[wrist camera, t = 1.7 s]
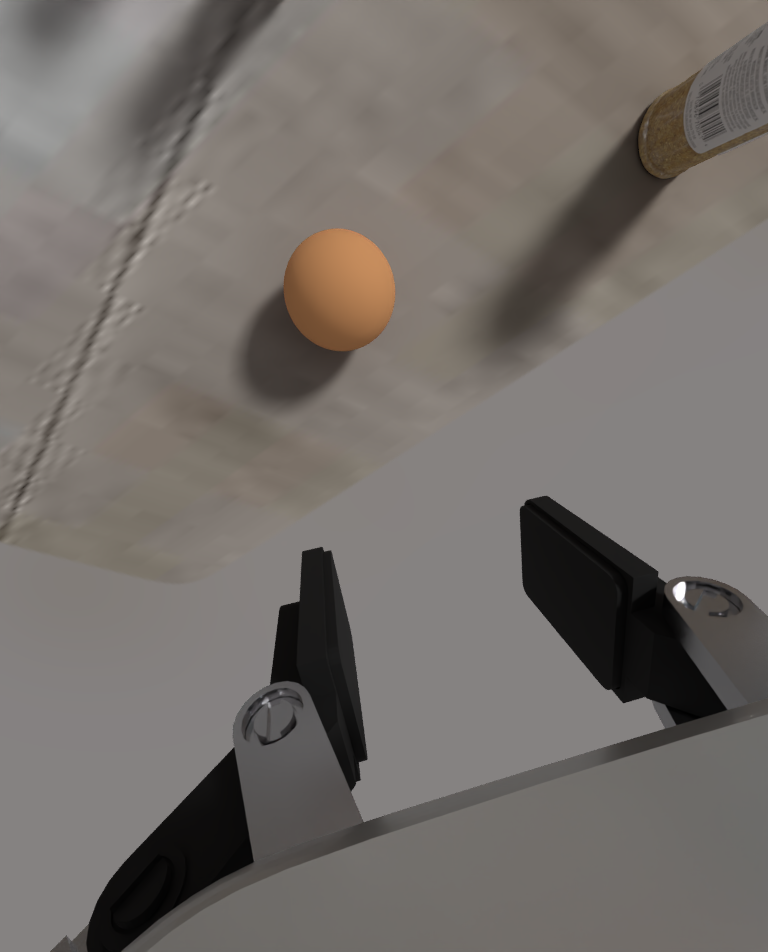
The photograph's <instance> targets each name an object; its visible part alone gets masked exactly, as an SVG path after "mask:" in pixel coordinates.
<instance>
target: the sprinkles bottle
mask: <svg viewBox="0 0 768 952" xmlns="http://www.w3.org/2000/svg"><path fill="white" fill-rule="evenodd" d="M766 134H768V22H766V23H765V24H763V25H762V26H761V27H759V28H758V29H756V30H755V31H753V32H752V33H750V34H749V35H748V36H746V37H745V38H743V39H742V40H740V41H739V42H738V43H736V44H735V45H733V46H732V47H730V48H729V49H727V50H726V51H725V52H723V53H722V54H720V55H719V56H717V57H716V58H715V59H713V60H712V61H710V62H709V63H708V64H707V65H706V66H705V67H704V68H703V69H701V70H700V71H698V72H697V73H695V74H694V75H692V76H691V77H689V78H688V79H687V80H686V81H684V82H682V83H681V84H680V85H678V86H676V87H674V88H671V89H669V90H667V91H665V92H664V93H663V94H661V95H660V96H659V97H658V98H656V99H655V100H654V102H653V103H652V104H651V106H650V107H649V109H648V111H647V113H646V114H645V116H644V118H643V121H642V124H641V127H640V131H639V138H638V146H639V153H640V158H641V160H642V163H643V165H644V167H645V168H646V170H647V171H648V172H649V173H651V174H652V175H654V176H656V177H658V178H661V179H666V178H671V177H675V176H677V175H679V174H681V173H682V172H684V171H686V170H687V169H688V168H690V167H692V166H695V165H697V164H699V163H701V162H703V161H705V160H707V159H710V158H712V157H714V156H716V155H721V154H724V153H726V152H729V151H731V150H733V149H735V148H737V147H740V146H742V145H744V144H747V143H749V142H751V141H753V140H755V139H758V138H760V137H762V136H764V135H766Z"/></svg>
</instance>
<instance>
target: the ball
mask: <svg viewBox="0 0 768 952" xmlns="http://www.w3.org/2000/svg"><path fill="white" fill-rule="evenodd" d="M284 297H285V303H286V306H287V310H288V312H289V315H290V317H291V319H292V321H293V322H294V324H295V325H296V327H297V328H298V329H299V331H300V332H301V333H302V334H303V335H304V336H305V337H306V338H308V339H309V340H310V341H311V342H313V343H315V344H316V345H318V346H321V347H323V348H326V349H329V350H334V351H351V350H355V349H358V348H361V347H363V346H365V345H367V344H369V343H370V342H372V341H373V340H374V339H376V338H377V337H378V336H379V335H380V334H381V332H382V331H383V330H384V328H385V327H386V325H387V323H388V322H389V319H390V317H391V315H392V311H393V308H394V302H395V283H394V278H393V274H392V271H391V268H390V266H389V264H388V261H387V260H386V258H385V256H384V255H383V253H382V252H381V251H380V250H379V248H378V247H377V246H376V245H375V244H374V243H373V242H371V241H370V240H369V239H367V238H366V237H364V236H363V235H361V234H359V233H356V232H354V231H350V230H346V229H328V230H324V231H320V232H318V233H315V234H313V235H312V236H310V237H308V238H307V239H306V240H304V241H303V242H302V243H301V244H300V245H299V246H298V247H297V248H296V250H295V251H294V253H293V254H292V256H291V258H290V260H289V262H288V265H287V268H286V271H285V276H284Z"/></svg>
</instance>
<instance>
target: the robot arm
mask: <svg viewBox="0 0 768 952" xmlns="http://www.w3.org/2000/svg"><path fill="white" fill-rule="evenodd" d="M520 529H521V552H522V579H523V587H524V590H525V592H526V594H527V596H528V597H529V598H530V599H531V601H532V602H533V603H534V604H535V605H536V607H537V608H538V609H539V610H540V611H541V613H542V614H543V615H544V616H545V617H546V619H547V620H548V621H549V622H550V623H551V625H552V626H553V627H554V628H555V629H556V631H557V632H558V633H559V634H560V636H561V637H562V638H563V639H564V640H565V642H566V643H567V644H568V645H569V647H570V648H571V649H572V650H573V651H574V653H575V654H576V655H577V656H578V657H579V659H580V660H581V661H582V662H583V663H584V665H585V666H586V667H587V668H588V669H589V671H590V672H591V673H592V674H593V676H594V677H595V678H596V679H597V680H598V682H599V683H600V684H601V685H602V686H603V687H604V688H605V689H607V690H610V689H612V690H613V692H614V693H615V694H616V695H617V696H618V698H619V699H620V700H621V701H622V702H623V703H626V702H629V701H632V700H636V699H639V698H643V697H646V698H647V699H650V700H652V703H653V706H654V708H655V710H656V712H657V714H658V716H659V718H660V720H661V722H662V723H663V725H664V727H665V729H663V730H660V731H657V732H653V733H650V734H647V735H643V736H640V737H637V738H633V739H630V740H627V741H624V742H620V743H617V744H614V745H610V746H607V747H604V748H601V749H597V750H594V751H591V752H587V753H584V754H581V755H578V756H574V757H571V758H568V759H565V760H562V761H558V762H555V763H551V764H548V765H545V766H542V767H538V768H535V769H532V770H529V771H525V772H522V773H519V774H516V775H513V776H510V777H506V778H503V779H500V780H496V781H493V782H490V783H487V784H484V785H480V786H477V787H474V788H471V789H468V790H464V791H461V792H458V793H455V794H451V795H448V796H446V797H442V798H439V799H436V800H432V801H429V802H426V803H423V804H419V805H416V806H413V807H410V808H407V809H403V810H400V811H397V812H394V813H391V814H388V815H385V816H382V817H379V818H376V819H373V820H370V821H367V822H363V820H362V817H361V815H360V813H359V810H358V808H357V806H356V803H355V800H354V798H353V796H352V793H351V791H352V789H353V788H354V786H355V785H356V782H357V781H360V780H361V779H360V769H359V762H361V761H365V760H367V750H366V743H365V734H364V727H363V720H362V711H361V703H360V696H359V688H358V681H357V672H356V665H355V657H354V649H353V642H352V635H351V631H350V626H349V622H348V617H347V613H346V609H345V605H344V601H343V597H342V593H341V589H340V584H339V580H338V576H337V572H336V568H335V564H334V560H333V556H332V552H331V551H326V552H324V550H323V547H320V548H315V549H311V550H307V551H303V552H302V566H301V585H300V586H301V587H300V602H296V603H291V604H287V605H283V606H281V607H280V610H279V617H278V625H277V633H276V641H275V649H274V658H273V667H272V674H271V682H270V685H269V686H266V687H264V688H263V689H261V690H259V691H258V692H256V693H255V694H253V695H252V696H251V697H250V698H249V699H248V700H247V701H246V702H245V703H244V705H243V706H242V708H241V709H240V711H239V712H238V714H237V716H236V719H235V722H234V725H233V742H234V748H233V749H232V750H231V751H230V752H229V753H228V754H227V756H225V757H224V759H223V760H222V761H221V762H220V763H219V764H218V765H217V766H216V767H215V768H214V769H213V770H212V771H211V772H210V773H209V774H208V775H207V776H206V777H205V778H204V779H203V780H202V781H201V783H200V784H199V785H198V786H197V787H196V788H195V789H194V790H193V791H192V792H191V793H190V794H189V795H188V796H187V797H186V798H185V799H184V800H183V801H182V803H180V805H179V806H178V807H177V808H176V809H175V810H174V811H173V812H172V813H171V814H170V815H169V816H168V817H167V818H166V819H165V820H164V821H163V822H162V823H161V824H160V826H158V827H157V828H156V830H155V831H154V832H153V833H152V834H151V835H150V836H149V837H148V838H147V839H146V840H145V841H144V842H143V843H142V844H141V845H140V846H139V847H138V848H137V849H136V850H135V852H134V853H133V854H132V855H131V856H130V857H129V858H128V859H127V860H126V861H125V862H124V863H123V864H122V866H121V867H120V868H119V869H118V871H117V872H116V873H115V874H114V875H113V877H112V878H111V879H110V881H109V882H108V884H107V886H106V887H105V889H104V891H103V892H102V894H101V896H100V897H99V899H98V901H97V903H96V906H95V909H94V911H93V914H92V917H91V919H90V922H89V924H88V925H87V926H86V927H85V929H83V930H82V932H80V933H79V934H78V936H77V937H76V938H75V939H74V940H73V941H71V940H70V939H69V938H68V937H67V936H65V937H64V938H63V939H62V940H61V942H60V943H58V944H57V945H56V946H55V947H54V948H53V949H52V950H51V951H50V952H768V616H767V615H766V614H765V613H764V612H763V611H762V610H761V609H759V608H758V607H757V606H756V605H755V604H754V603H753V602H752V601H751V600H750V599H749V598H748V597H747V596H745V595H744V594H743V593H741V592H740V591H739V590H737V589H735V588H733V587H731V586H729V585H727V584H725V583H722V582H719V581H716V580H713V579H707V578H702V577H690V576H686V577H679V578H675V579H673V580H670V581H669V582H668V583H665V582H664V581H663V580H661V579H660V578H658V571H657V570H655V569H654V568H652V567H651V566H649V565H648V564H647V563H645V562H644V561H642V560H641V559H639V558H638V557H636V556H634V555H633V554H632V553H630V552H629V551H627V550H626V549H625V548H623V547H622V546H620V545H619V544H617V543H616V542H614V541H613V540H611V539H610V538H608V537H607V536H605V535H604V534H602V533H601V532H600V531H598V530H596V529H595V528H594V527H592V526H591V525H589V524H588V523H586V522H585V521H583V520H582V519H580V518H579V517H578V516H576V515H575V514H573V513H572V512H570V511H569V510H567V509H566V508H564V507H563V506H561V505H560V504H558V503H557V502H556V501H554V500H553V499H551V498H550V497H548V496H542V497H539V498H534V499H529V500H527V501H526V502H525V505H524V506H522V507H521V508H520Z"/></svg>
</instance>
